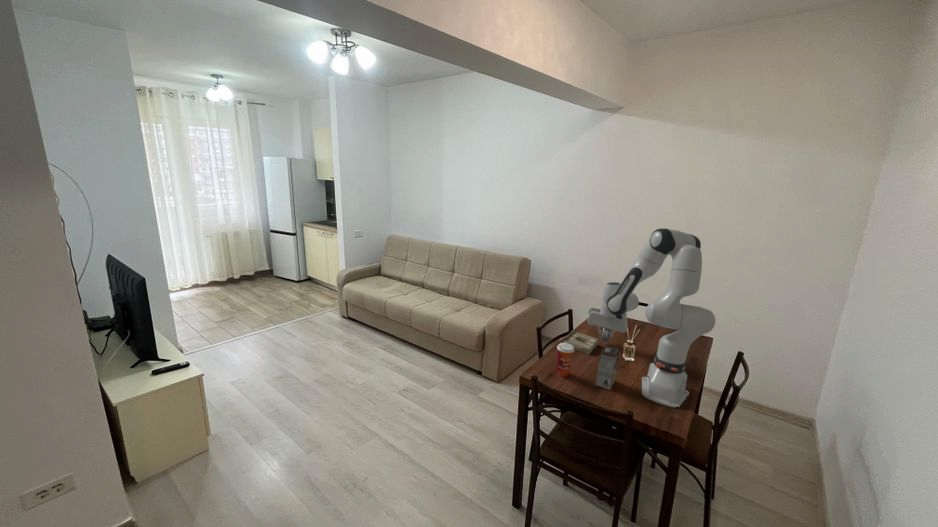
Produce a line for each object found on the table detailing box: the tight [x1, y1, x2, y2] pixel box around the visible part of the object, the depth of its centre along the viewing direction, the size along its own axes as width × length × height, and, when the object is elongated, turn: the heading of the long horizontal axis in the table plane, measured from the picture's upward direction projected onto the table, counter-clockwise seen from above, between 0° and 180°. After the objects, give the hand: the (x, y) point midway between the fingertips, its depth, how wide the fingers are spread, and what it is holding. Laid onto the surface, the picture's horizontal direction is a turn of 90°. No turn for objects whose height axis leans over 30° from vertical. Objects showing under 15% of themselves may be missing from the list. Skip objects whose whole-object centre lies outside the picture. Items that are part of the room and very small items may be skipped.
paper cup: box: [555, 342, 575, 378], centre depth 169 cm, size 8×8×14 cm
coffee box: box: [595, 344, 621, 390], centre depth 163 cm, size 9×6×16 cm
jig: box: [563, 329, 599, 355], centre depth 199 cm, size 14×14×5 cm
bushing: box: [600, 327, 611, 342], centre depth 201 cm, size 4×4×7 cm
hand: (605, 335), depth 201 cm, fingers closed on bushing, 4 cm apart
